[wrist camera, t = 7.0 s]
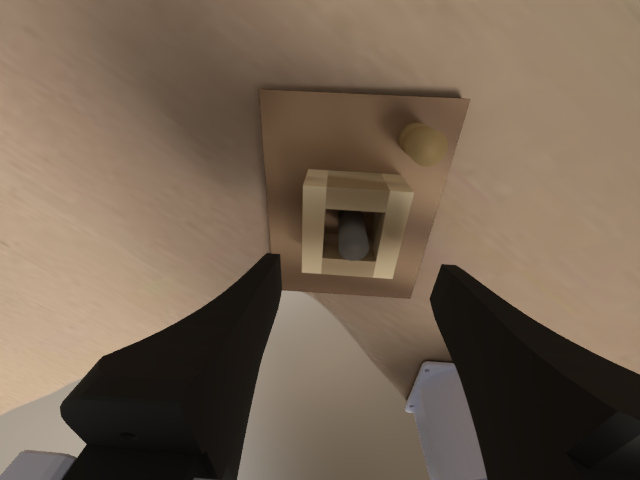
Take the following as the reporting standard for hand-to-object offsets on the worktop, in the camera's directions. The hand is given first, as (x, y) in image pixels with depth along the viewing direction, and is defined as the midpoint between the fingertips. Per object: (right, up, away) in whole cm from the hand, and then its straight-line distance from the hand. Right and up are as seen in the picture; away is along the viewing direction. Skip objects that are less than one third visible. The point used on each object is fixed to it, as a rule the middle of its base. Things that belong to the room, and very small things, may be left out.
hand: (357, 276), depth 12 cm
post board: (0, +4, +6) cm, 7 cm away
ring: (0, +3, +5) cm, 6 cm away
